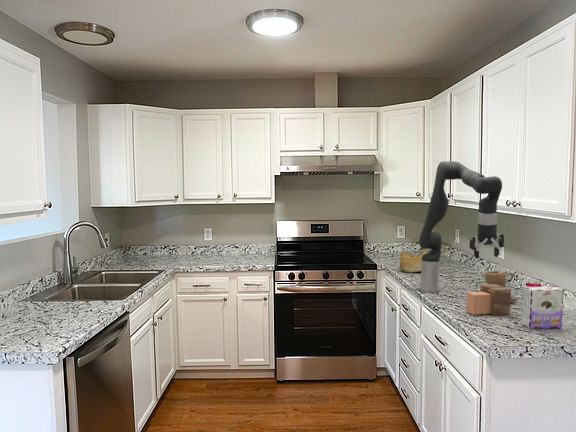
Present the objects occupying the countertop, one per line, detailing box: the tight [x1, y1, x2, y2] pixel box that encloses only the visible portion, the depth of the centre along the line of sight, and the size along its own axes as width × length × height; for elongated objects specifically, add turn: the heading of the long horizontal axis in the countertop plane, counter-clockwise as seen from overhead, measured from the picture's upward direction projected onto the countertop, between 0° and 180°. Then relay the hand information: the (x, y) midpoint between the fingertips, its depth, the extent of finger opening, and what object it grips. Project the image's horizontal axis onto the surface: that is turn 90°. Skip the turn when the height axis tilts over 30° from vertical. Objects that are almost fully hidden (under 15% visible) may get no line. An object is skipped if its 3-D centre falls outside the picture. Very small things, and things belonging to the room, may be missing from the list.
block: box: [465, 291, 492, 316], centre depth 182 cm, size 5×16×9 cm, turn 101°
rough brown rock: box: [399, 250, 431, 273], centre depth 274 cm, size 23×17×15 cm
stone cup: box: [484, 270, 518, 304], centre depth 204 cm, size 15×12×15 cm
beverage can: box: [526, 280, 543, 287], centre depth 193 cm, size 6×6×12 cm
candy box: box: [520, 286, 564, 329], centre depth 164 cm, size 14×6×16 cm, turn 92°
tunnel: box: [479, 283, 512, 317], centre depth 183 cm, size 10×8×12 cm
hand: (486, 257), depth 175 cm, fingers open, 8 cm apart
